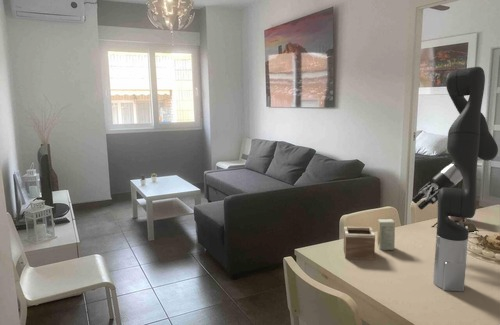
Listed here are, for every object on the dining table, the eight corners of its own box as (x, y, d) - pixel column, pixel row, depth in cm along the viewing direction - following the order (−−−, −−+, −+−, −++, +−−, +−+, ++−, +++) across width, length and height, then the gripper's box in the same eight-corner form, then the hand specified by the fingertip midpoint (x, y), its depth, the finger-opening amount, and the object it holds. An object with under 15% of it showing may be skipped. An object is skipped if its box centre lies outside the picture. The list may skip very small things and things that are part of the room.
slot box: (374, 260, 144) (375, 235, 143) (345, 258, 146) (345, 234, 145) (370, 249, 154) (371, 227, 153) (343, 248, 156) (344, 226, 154)
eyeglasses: (478, 236, 167) (479, 226, 167) (446, 238, 167) (447, 227, 166) (458, 226, 182) (459, 216, 181) (429, 227, 181) (429, 217, 180)
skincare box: (391, 246, 158) (392, 218, 156) (394, 250, 153) (395, 222, 152) (376, 245, 158) (377, 218, 156) (378, 249, 154) (379, 221, 152)
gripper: (435, 167, 153) (405, 193, 157) (448, 174, 139) (414, 203, 143) (448, 180, 153) (418, 206, 157) (462, 188, 139) (428, 216, 143)
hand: (416, 204), depth 150 cm, fingers open, 8 cm apart
